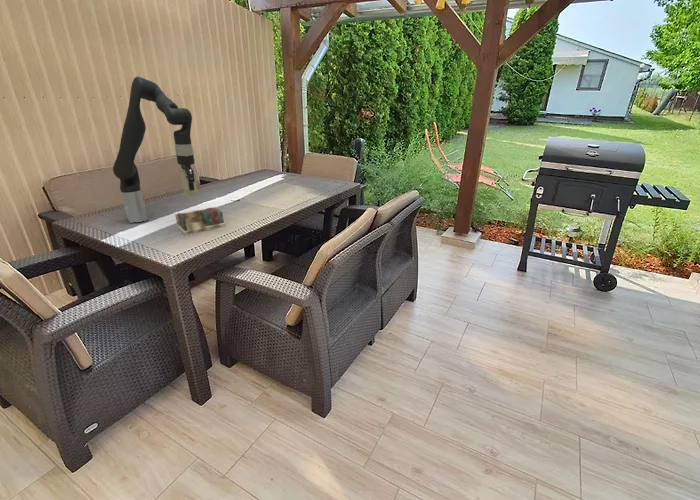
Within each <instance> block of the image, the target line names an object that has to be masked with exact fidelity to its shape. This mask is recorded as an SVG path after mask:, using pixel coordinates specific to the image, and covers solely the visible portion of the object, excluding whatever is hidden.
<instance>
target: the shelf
mask: <svg viewBox="0 0 700 500" xmlns="http://www.w3.org/2000/svg"><path fill="white" fill-rule="evenodd" d="M174 217H175V221H176V224H177V225H176V226H177V229H178V228H179V229H180V230H181V231H182V232H183V233H182V232H181V231H180V230H179V229H178V230H179V231H180V232H181V233H182V234H183V235H184V234H188V235H191V234H190V233H192V234H196V233H195V232H197V233H201V232H200V231H202V232H205V231H209V230H211V231H212V230H215V228H216V229H219V228H224V227H226V226H227V225H226V223H225V221H224V215H223V211H222V210H220V209H219V208H217V207H216V206H214V207H208V208H202V209H198V210H192V211H187V212H186V211H185V212H178V213H175V214H174Z"/></svg>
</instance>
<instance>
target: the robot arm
mask: <svg viewBox="0 0 700 500" xmlns="http://www.w3.org/2000/svg"><path fill="white" fill-rule="evenodd" d="M142 99H143V100H146V101H149V102H152V103H155V105H156V107H157V109H158V110H159V111H160V112H161V113H162V114H163V115H164V117H165V118H166V120H167V123H169V124H170V125H172V126H181V128H180V129H178V130H177V129H176V130H175V131H173V139H174V145H175V146H174V149H175V155H176V161H177V164H178V165H179V166H180V167H181V168H180V169H181V170H183V171H184V173H185V177H186V178H187V180H188V185H189V190H190V191H191V190H194V183H193V182H195V180H196V179H195V180H194V174H195V170H193V167H192V166H191V165H194V164H195V163H196V162H195V156H194V148H193V146H192V138H191V131H192V122H193V116H192V115H193V114H192V112H191V111H190V110H189V109H188V108H185V107H181V108H180V107H178V105H177V104H176V103H175V102H174V101H173V100H172V99H170V98H169V97H167V95H166V94H165V93H164V92H163V90H162V89H161V87H160V86H159V85H158V84H157V83H155V82H153V81H151V80H148V79H146V78H144V77H140V76H135V77H134V78H133V81H132V82H131V86H130V94H129V103H128V107H127V111H126V116H125V120H124V123H123V126H122V133H121V138H120V142H119V143H120V144H119V150H118V153H117V156H116V158H115V160H114V163H113V166H112V171H113V174H114V176H115V177H116V178H118V179H119V180H120V183H119V184H120V185H119V189H120V193H121V197H122V200H123V206H124V210H125V212H126V213H125V214H126V217H127V221H128V220H129V221H128V222H130V223H132V222H142V221H145V222H147V221H148V220H149V217H148V214H147V209H146V206H145V201H144V197H143V193H142V190H141V189H142V188H141V180H140V175H139V170H138V168H137V165H136V164H135V159H136V156H137V153H138V151H139V150H140V147H141V145H142V143H143V140H144V138H145V133H146V130H147V127H146V123H145V120H144V116H143V115H142V111H141V100H142ZM187 175H188V176H187ZM190 178H192V180H190ZM147 219H148V220H147ZM146 220H147V221H146ZM130 223H129V224H130ZM142 223H143V222H142ZM132 224H133V223H132Z"/></svg>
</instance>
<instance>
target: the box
mask: <svg viewBox="0 0 700 500" xmlns="http://www.w3.org/2000/svg"><path fill="white" fill-rule="evenodd" d="M192 169H193V168H192ZM193 170H194V169H193ZM194 171H195V170H194ZM187 176H188V175H187ZM180 178H181V181H182V182H181V183H182V188H183V192H184V197H188V198H189V197H191V198H194V197H196V196H198V195H199V192H198V185H197V181H196V175H195V173H194V180H195V182H193V183H194V190H191V191H190V190H189V185H188V180H187V178H186V177H185V173H184V171H183V170H182V169H181V170H180ZM190 180H192V178H190Z"/></svg>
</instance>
